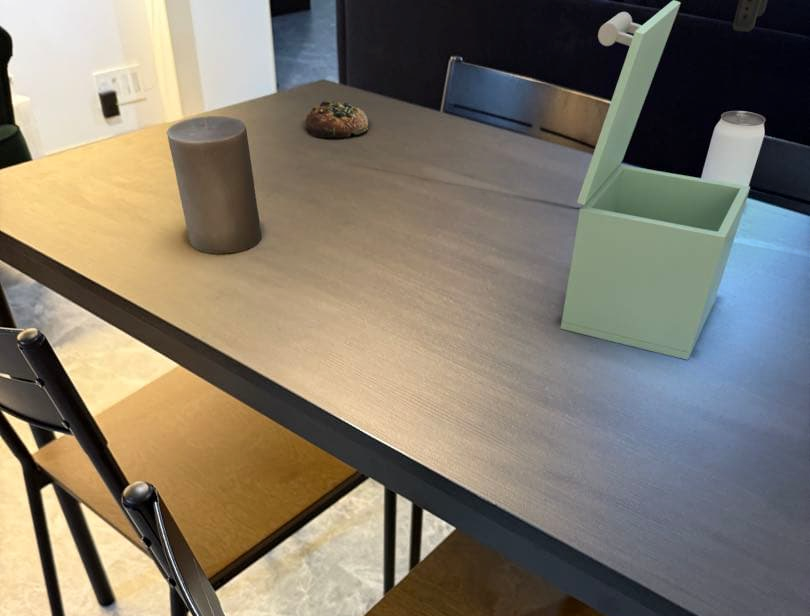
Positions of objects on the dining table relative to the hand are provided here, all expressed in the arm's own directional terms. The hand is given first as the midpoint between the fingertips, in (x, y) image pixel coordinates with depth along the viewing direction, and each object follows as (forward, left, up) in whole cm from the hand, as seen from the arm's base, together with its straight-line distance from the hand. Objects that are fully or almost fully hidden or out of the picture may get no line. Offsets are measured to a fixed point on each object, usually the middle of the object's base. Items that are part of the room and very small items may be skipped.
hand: (747, 22), depth 89 cm
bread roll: (+64, -11, -24) cm, 69 cm away
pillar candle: (+55, +34, -24) cm, 69 cm away
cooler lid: (+5, +29, -2) cm, 30 cm away
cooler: (0, +29, -24) cm, 37 cm away
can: (-2, -6, -24) cm, 24 cm away
